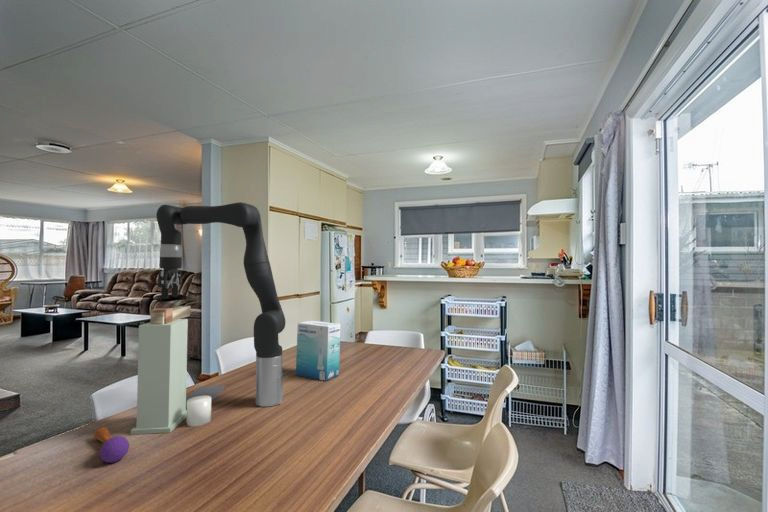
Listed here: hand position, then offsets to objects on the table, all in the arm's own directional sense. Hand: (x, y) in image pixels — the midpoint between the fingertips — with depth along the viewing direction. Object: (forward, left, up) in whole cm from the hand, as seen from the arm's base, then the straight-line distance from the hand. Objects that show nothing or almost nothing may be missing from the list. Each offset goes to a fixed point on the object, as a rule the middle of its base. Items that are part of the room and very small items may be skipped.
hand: (170, 297), depth 138 cm
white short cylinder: (-22, +27, -38) cm, 51 cm away
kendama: (-4, +43, -38) cm, 57 cm away
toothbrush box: (-57, -17, -38) cm, 70 cm away
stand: (-11, +27, -38) cm, 47 cm away
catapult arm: (-11, +22, -6) cm, 25 cm away
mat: (-15, +6, -38) cm, 41 cm away
